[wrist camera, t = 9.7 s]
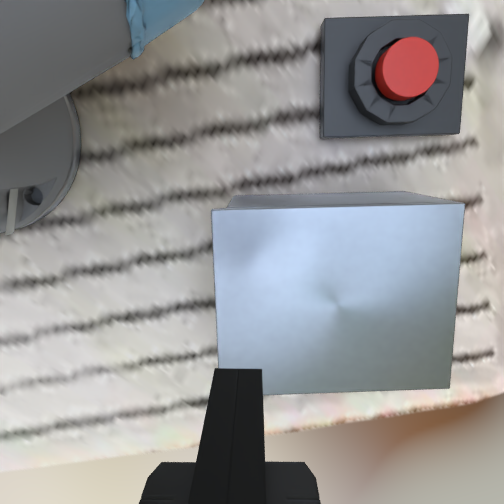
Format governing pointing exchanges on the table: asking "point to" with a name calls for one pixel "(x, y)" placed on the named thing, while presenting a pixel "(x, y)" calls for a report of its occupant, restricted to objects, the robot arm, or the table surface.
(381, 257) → the lid
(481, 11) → the table surface
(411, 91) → the button
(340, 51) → the button base
